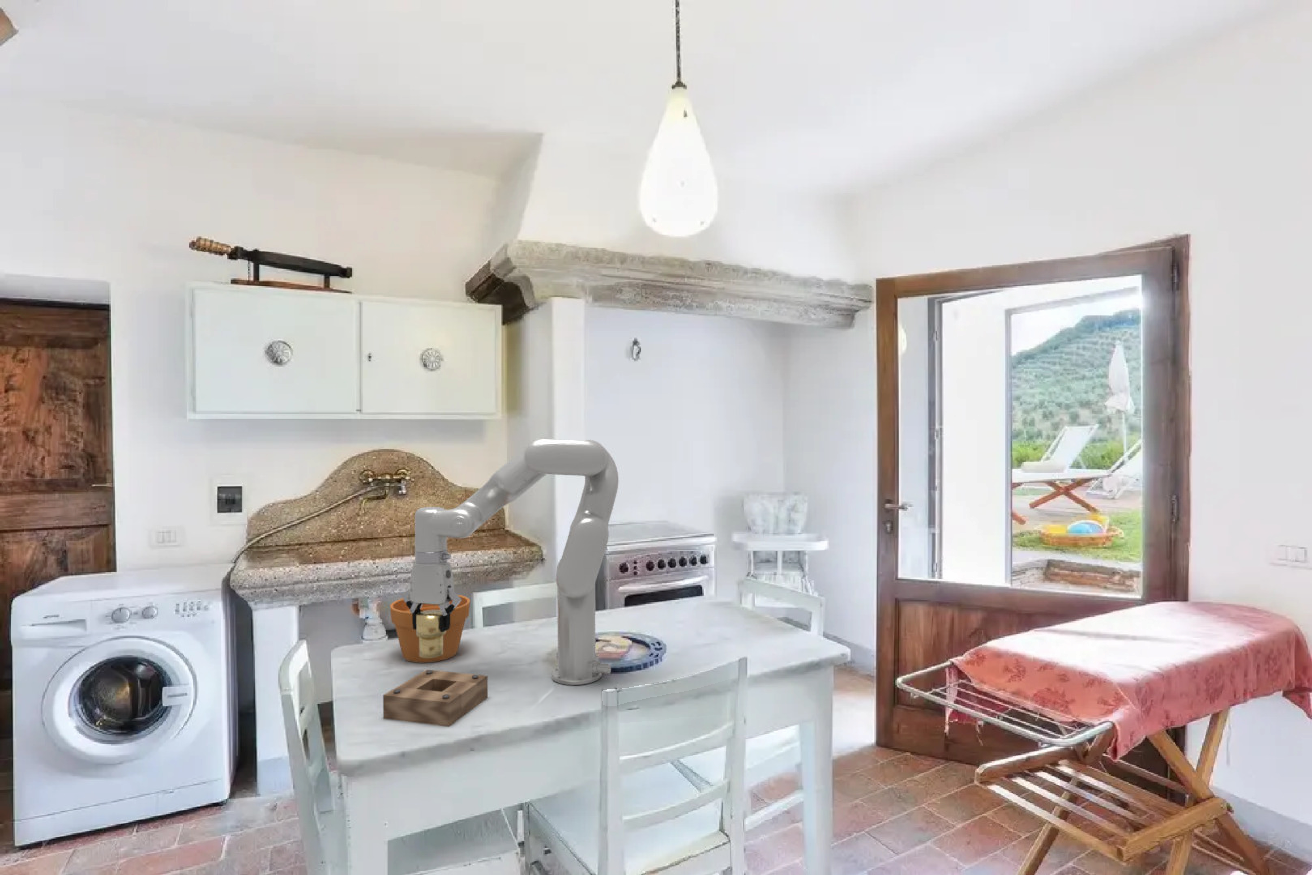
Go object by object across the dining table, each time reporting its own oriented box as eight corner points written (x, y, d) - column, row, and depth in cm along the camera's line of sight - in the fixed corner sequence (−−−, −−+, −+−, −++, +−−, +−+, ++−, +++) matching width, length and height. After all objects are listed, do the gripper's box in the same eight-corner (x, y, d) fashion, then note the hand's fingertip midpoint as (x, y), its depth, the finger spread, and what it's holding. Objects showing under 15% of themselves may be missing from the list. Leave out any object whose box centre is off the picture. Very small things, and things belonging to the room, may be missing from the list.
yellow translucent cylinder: (451, 651, 174) (451, 610, 174) (435, 660, 167) (435, 618, 167) (427, 648, 176) (427, 608, 176) (410, 657, 169) (410, 615, 169)
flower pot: (474, 640, 206) (473, 591, 205) (466, 664, 185) (465, 609, 185) (399, 645, 202) (398, 594, 202) (382, 669, 181) (382, 613, 181)
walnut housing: (487, 701, 160) (487, 673, 160) (449, 731, 144) (448, 700, 144) (427, 694, 164) (426, 667, 164) (383, 722, 149) (383, 692, 149)
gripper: (470, 556, 172) (470, 627, 173) (409, 553, 177) (410, 622, 177) (454, 562, 165) (454, 636, 166) (391, 558, 170) (391, 630, 170)
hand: (431, 628), depth 171 cm, fingers closed on yellow translucent cylinder, 7 cm apart
